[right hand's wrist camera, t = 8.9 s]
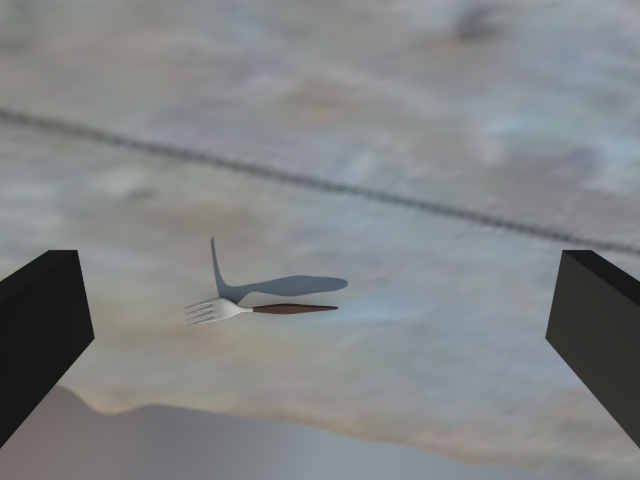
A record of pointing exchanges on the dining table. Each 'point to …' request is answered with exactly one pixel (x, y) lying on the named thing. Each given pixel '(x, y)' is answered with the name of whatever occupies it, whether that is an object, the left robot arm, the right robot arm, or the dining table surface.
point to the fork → (249, 309)
